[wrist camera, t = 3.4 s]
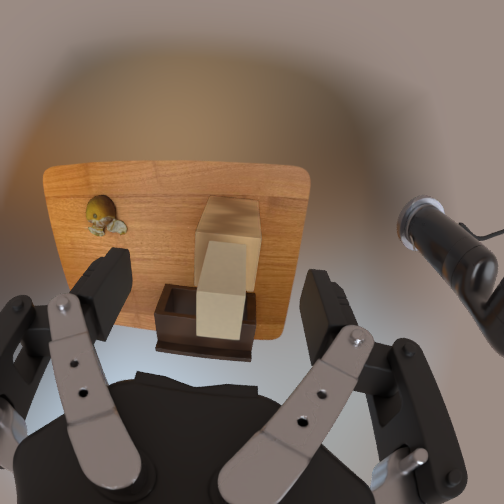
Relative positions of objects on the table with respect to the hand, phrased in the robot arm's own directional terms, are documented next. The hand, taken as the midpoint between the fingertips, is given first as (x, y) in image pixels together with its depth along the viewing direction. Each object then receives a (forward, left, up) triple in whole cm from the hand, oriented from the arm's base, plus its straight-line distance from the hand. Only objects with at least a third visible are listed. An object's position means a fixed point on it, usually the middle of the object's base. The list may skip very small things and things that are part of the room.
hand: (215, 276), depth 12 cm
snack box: (0, +12, -20) cm, 23 cm away
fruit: (+24, +14, -34) cm, 44 cm away
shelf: (+3, +31, -34) cm, 46 cm away
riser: (0, +12, -34) cm, 36 cm away
